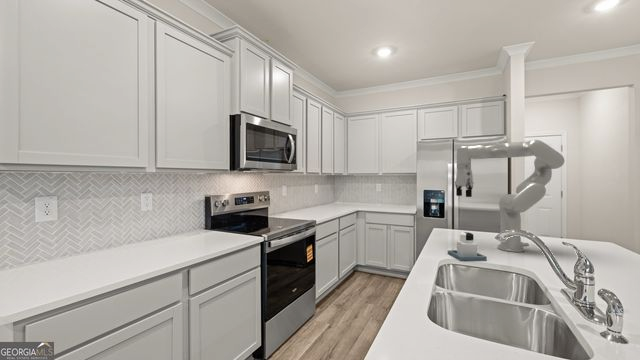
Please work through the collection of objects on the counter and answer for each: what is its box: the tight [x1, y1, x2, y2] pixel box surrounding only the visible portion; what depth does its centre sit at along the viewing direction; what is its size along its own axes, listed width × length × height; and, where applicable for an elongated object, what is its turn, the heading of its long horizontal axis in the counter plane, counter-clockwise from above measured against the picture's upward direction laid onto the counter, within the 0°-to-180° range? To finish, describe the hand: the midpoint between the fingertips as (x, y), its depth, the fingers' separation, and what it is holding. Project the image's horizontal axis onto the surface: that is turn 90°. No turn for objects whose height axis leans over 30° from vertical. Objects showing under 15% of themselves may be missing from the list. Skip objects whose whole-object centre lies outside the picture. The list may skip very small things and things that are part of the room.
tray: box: [447, 249, 488, 262], centre depth 142 cm, size 13×13×2 cm
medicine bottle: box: [456, 231, 478, 257], centre depth 142 cm, size 7×7×12 cm
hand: (463, 196), depth 161 cm, fingers open, 9 cm apart
